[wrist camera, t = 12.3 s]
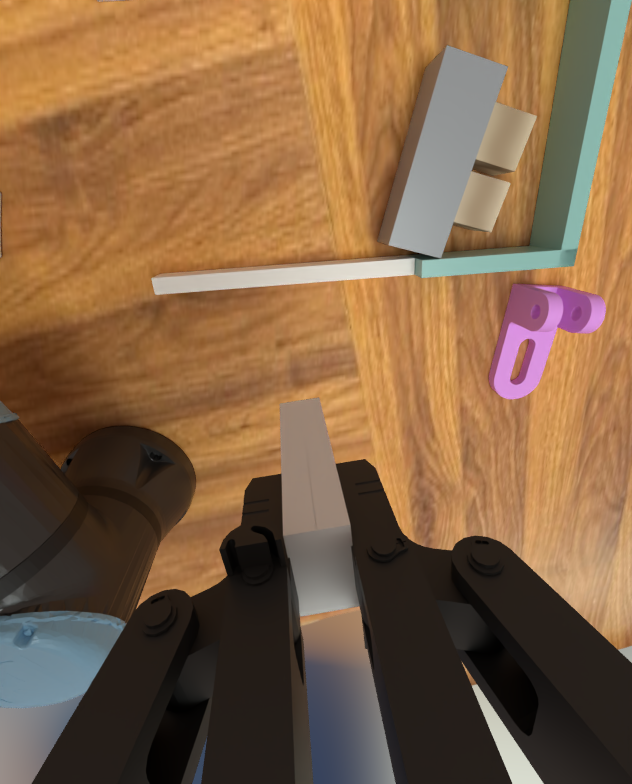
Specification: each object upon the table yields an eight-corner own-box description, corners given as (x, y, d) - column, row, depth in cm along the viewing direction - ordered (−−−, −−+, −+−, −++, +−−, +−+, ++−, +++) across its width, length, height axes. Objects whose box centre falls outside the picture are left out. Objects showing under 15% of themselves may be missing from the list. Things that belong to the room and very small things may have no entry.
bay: (405, 270, 39) (421, 277, 34) (417, -42, 29) (441, -88, 25) (541, 260, 39) (573, 266, 35) (597, -50, 30) (652, -98, 25)
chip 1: (453, 163, 35) (472, 158, 32) (470, 112, 34) (492, 100, 30) (492, 175, 36) (514, 171, 32) (510, 126, 34) (536, 116, 31)
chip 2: (434, 220, 37) (450, 220, 34) (450, 174, 36) (468, 170, 32) (471, 230, 38) (491, 232, 34) (488, 186, 36) (510, 183, 33)
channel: (164, 288, 38) (155, 294, 35) (91, -26, 28) (71, -51, 26) (405, 270, 39) (414, 274, 36) (416, -42, 29) (429, -68, 26)
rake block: (376, 241, 38) (388, 245, 33) (424, 68, 32) (446, 45, 28) (423, 253, 39) (440, 258, 34) (477, 86, 33) (508, 66, 28)
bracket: (512, 283, 40) (553, 296, 34) (561, 285, 41) (611, 298, 35) (483, 393, 46) (514, 422, 40) (527, 394, 46) (564, 422, 40)
